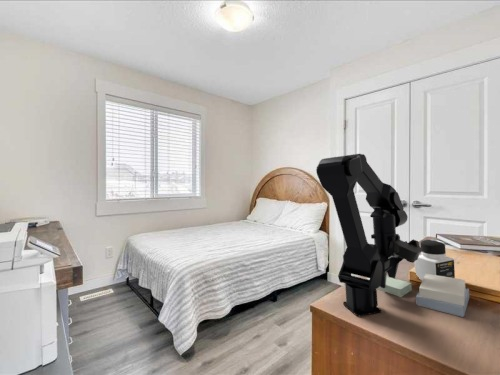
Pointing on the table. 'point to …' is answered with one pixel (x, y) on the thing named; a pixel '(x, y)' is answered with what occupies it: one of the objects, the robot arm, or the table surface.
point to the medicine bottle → (434, 260)
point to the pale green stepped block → (396, 286)
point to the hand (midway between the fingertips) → (387, 284)
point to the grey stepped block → (443, 294)
